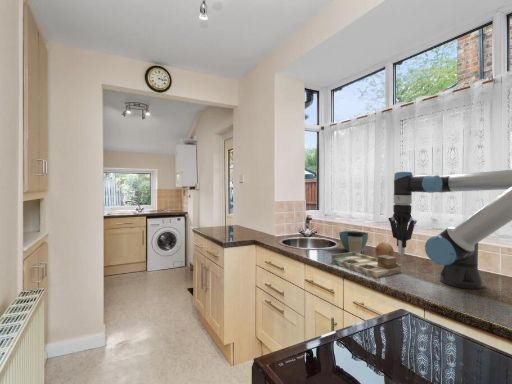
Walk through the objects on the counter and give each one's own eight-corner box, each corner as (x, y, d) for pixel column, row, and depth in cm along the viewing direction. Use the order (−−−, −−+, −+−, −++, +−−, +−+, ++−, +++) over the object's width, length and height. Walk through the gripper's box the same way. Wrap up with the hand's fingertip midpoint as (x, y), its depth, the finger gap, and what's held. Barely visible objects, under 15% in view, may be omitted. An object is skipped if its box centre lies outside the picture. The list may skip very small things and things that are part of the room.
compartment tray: (400, 272, 135) (400, 263, 135) (376, 277, 127) (376, 268, 127) (354, 259, 161) (354, 251, 161) (331, 262, 152) (331, 254, 152)
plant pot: (333, 250, 183) (333, 232, 183) (349, 247, 194) (349, 230, 194) (358, 255, 169) (358, 236, 169) (373, 251, 180) (373, 233, 180)
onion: (385, 262, 154) (385, 244, 154) (371, 258, 163) (371, 241, 163) (397, 261, 157) (398, 243, 157) (383, 257, 167) (384, 240, 167)
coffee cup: (364, 259, 161) (364, 233, 161) (347, 258, 163) (348, 233, 163) (361, 255, 171) (361, 231, 170) (345, 254, 172) (346, 230, 172)
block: (396, 267, 135) (396, 257, 135) (388, 269, 132) (388, 258, 132) (385, 264, 141) (385, 254, 140) (377, 266, 138) (377, 256, 138)
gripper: (384, 203, 133) (383, 251, 134) (411, 205, 122) (409, 258, 122) (394, 203, 137) (393, 250, 137) (420, 205, 125) (419, 256, 126)
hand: (401, 253), depth 130 cm, fingers closed
